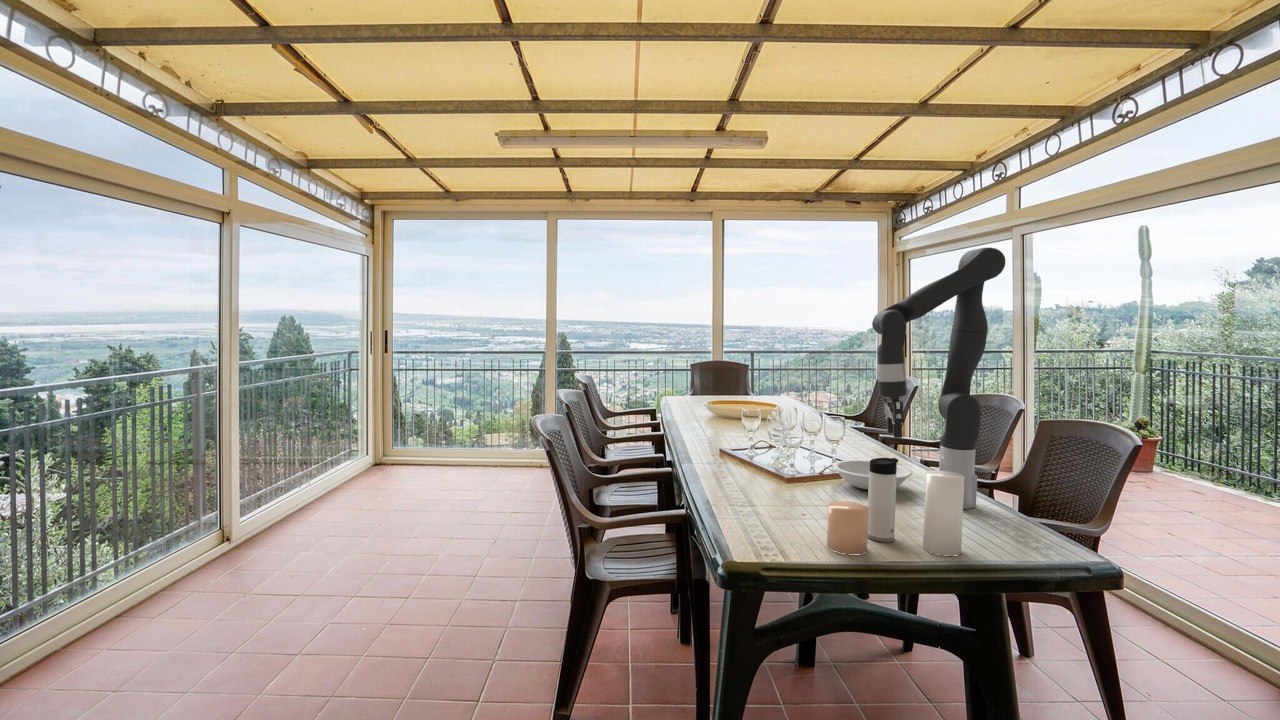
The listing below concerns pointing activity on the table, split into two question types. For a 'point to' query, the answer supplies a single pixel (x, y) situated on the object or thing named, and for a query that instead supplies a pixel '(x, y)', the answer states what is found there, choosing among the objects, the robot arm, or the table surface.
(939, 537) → the tall white cylinder
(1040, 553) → the table surface
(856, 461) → the soup bowl
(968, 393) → the robot arm
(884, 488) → the travel mug
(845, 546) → the peach rounded cylinder
